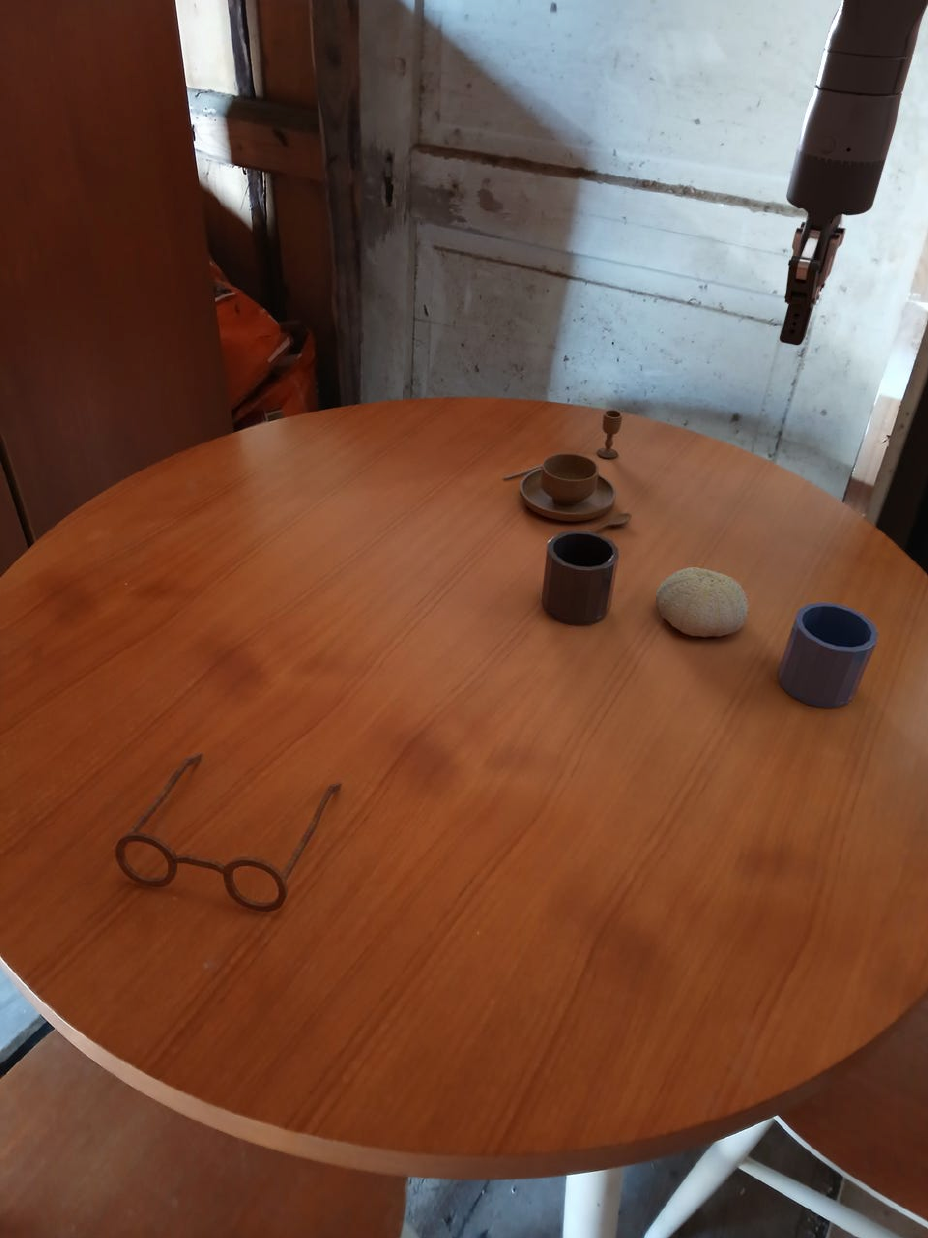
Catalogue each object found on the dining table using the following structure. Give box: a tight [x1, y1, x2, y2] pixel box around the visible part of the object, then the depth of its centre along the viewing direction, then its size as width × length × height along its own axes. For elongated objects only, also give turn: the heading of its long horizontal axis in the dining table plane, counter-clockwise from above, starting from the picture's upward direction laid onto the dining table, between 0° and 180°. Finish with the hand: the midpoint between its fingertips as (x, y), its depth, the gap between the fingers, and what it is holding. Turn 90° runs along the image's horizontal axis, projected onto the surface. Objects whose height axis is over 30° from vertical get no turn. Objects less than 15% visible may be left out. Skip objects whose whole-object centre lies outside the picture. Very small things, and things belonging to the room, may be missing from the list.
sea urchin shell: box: [655, 566, 749, 638], centre depth 94 cm, size 9×8×8 cm
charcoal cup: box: [541, 529, 620, 626], centre depth 94 cm, size 7×7×7 cm
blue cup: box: [777, 601, 879, 709], centre depth 85 cm, size 7×7×7 cm
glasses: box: [114, 752, 343, 913], centre depth 69 cm, size 13×13×5 cm
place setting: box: [502, 409, 632, 533], centre depth 113 cm, size 18×20×6 cm
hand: (791, 341), depth 90 cm, fingers closed
